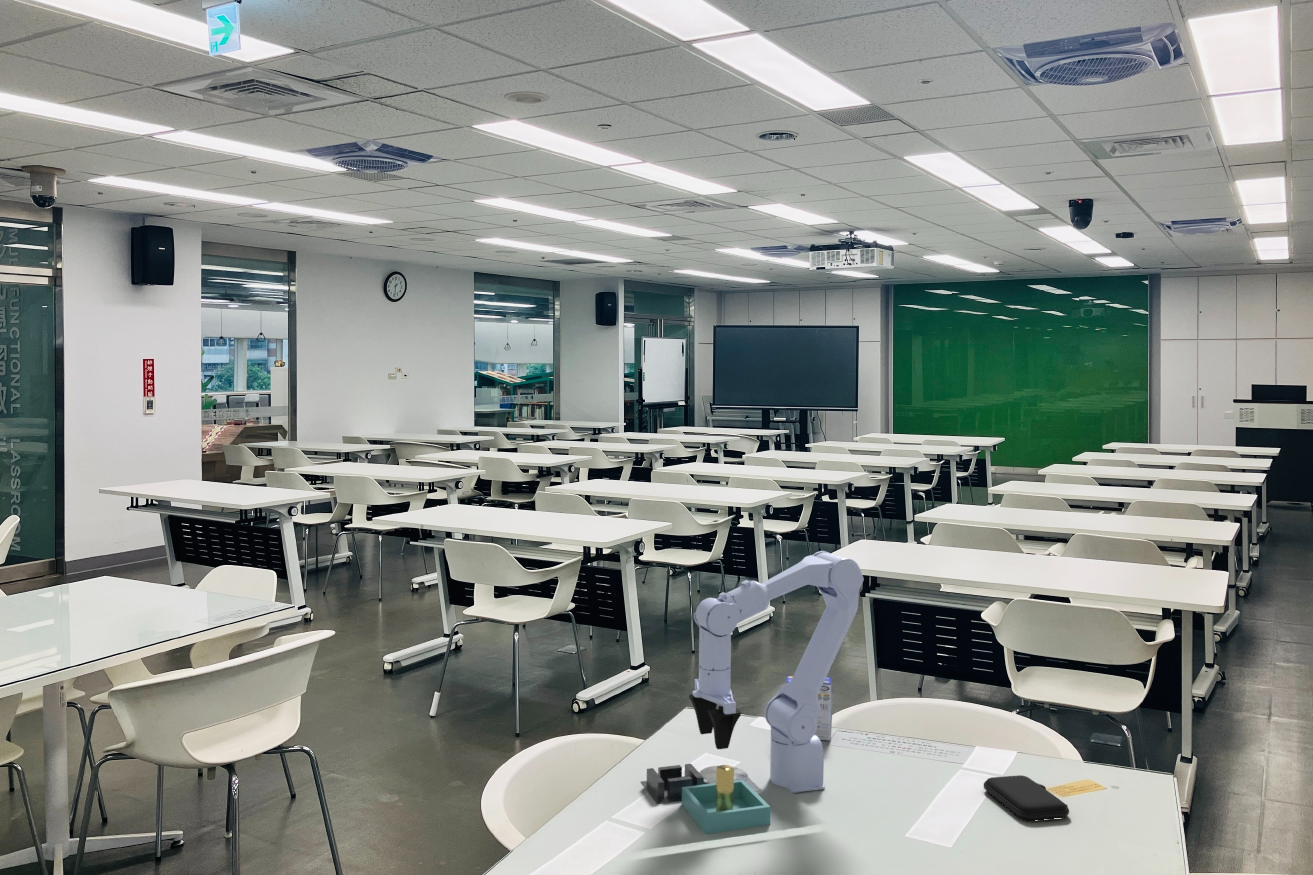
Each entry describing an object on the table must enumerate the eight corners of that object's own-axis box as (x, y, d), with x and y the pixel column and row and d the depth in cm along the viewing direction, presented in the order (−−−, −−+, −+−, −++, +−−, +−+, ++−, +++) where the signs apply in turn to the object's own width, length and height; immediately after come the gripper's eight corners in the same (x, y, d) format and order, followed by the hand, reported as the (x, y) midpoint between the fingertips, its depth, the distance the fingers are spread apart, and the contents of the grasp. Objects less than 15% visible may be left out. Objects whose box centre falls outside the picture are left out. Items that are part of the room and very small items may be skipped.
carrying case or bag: (1079, 821, 166) (1031, 786, 180) (1080, 804, 166) (1031, 770, 180) (1023, 826, 164) (979, 790, 178) (1024, 809, 164) (979, 774, 178)
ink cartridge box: (830, 732, 207) (832, 665, 206) (832, 741, 201) (833, 673, 201) (784, 729, 208) (785, 663, 207) (784, 738, 203) (785, 671, 202)
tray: (742, 801, 172) (743, 779, 172) (770, 829, 161) (770, 806, 161) (681, 809, 168) (682, 787, 168) (705, 839, 157) (705, 815, 157)
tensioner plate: (740, 774, 184) (740, 753, 184) (761, 795, 174) (761, 774, 174) (640, 786, 178) (640, 765, 177) (656, 809, 168) (657, 787, 168)
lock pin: (730, 809, 166) (730, 764, 166) (735, 816, 163) (736, 770, 163) (713, 811, 165) (713, 765, 165) (719, 818, 162) (719, 772, 162)
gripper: (679, 657, 178) (679, 729, 179) (709, 679, 164) (708, 757, 165) (714, 653, 180) (714, 724, 181) (747, 676, 166) (746, 752, 167)
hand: (713, 740), depth 173 cm, fingers open, 7 cm apart
